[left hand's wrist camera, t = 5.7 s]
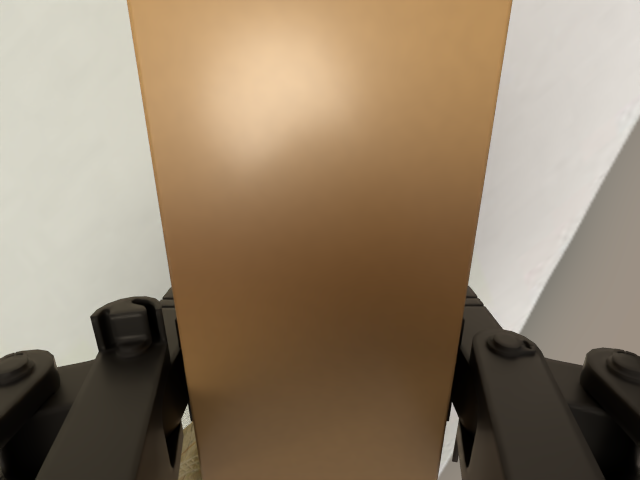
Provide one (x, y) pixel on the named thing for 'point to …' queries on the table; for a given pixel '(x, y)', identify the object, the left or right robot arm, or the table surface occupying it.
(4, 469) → the left robot arm
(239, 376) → the bar
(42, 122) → the table surface
